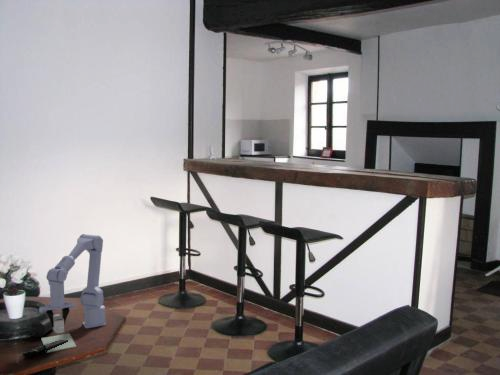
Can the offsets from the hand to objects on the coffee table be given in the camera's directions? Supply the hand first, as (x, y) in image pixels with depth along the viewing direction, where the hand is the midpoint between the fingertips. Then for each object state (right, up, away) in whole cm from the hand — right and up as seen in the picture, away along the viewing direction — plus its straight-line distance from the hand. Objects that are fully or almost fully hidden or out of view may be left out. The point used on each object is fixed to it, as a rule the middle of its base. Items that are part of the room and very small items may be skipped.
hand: (58, 325), depth 221 cm
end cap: (-11, -7, +12) cm, 17 cm away
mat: (0, -8, +1) cm, 8 cm away
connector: (+1, -2, -1) cm, 2 cm away
